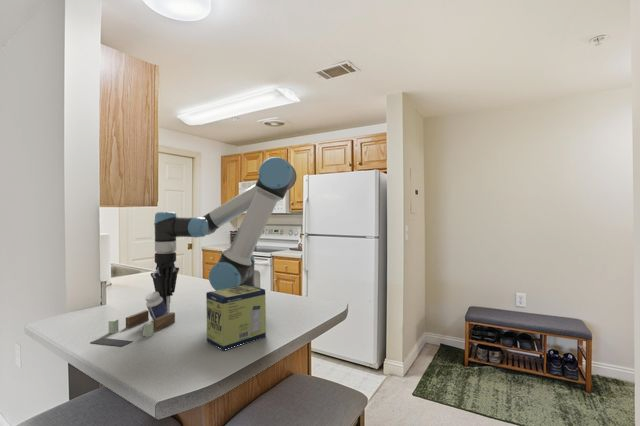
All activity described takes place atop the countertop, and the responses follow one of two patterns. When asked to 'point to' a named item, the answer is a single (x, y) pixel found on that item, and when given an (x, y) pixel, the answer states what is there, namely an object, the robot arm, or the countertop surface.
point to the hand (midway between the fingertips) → (165, 313)
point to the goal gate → (147, 327)
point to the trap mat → (111, 342)
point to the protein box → (235, 316)
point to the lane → (144, 316)
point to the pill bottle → (156, 305)
